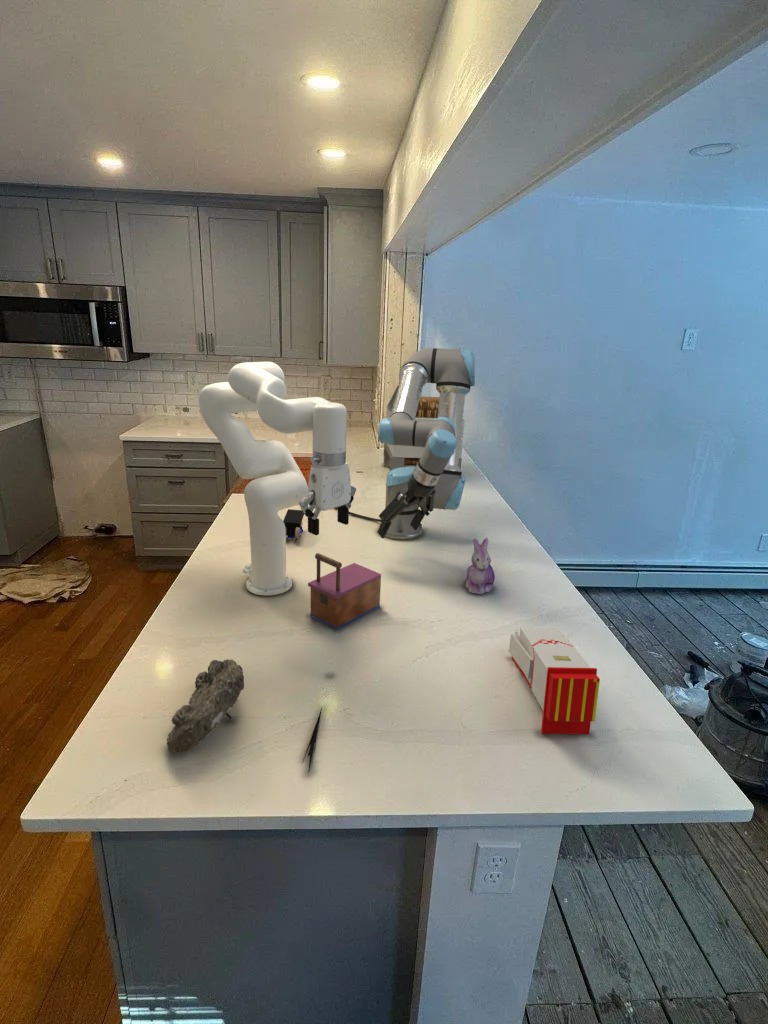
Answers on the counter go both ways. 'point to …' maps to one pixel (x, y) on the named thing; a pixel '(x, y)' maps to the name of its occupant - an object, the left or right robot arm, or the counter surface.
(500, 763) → the counter surface
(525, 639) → the toy
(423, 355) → the right robot arm
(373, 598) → the chest
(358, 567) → the lid
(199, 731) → the fossil
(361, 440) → the counter surface
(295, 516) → the figurine character
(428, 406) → the transformer
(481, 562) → the figurine
